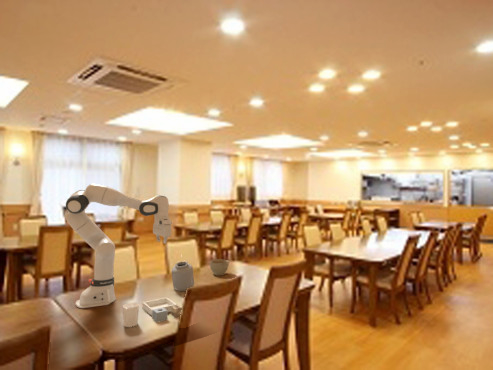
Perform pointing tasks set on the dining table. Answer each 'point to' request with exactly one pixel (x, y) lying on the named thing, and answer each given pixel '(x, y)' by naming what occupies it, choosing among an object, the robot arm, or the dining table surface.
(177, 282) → the jar
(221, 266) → the planter bowl
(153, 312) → the slate block
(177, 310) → the maple block
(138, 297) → the dining table surface
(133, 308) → the white cup
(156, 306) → the cream tray
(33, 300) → the dining table surface
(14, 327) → the dining table surface
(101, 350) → the dining table surface
